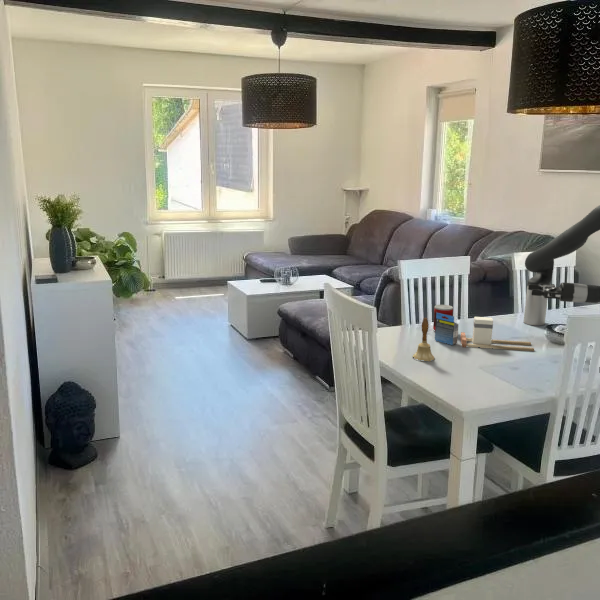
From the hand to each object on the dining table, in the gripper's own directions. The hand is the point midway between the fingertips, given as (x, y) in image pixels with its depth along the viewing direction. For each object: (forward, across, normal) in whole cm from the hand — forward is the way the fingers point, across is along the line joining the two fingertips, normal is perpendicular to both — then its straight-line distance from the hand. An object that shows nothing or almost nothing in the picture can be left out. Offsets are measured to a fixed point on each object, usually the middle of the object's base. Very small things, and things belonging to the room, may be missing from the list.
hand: (529, 289), depth 241 cm
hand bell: (+40, +27, +23) cm, 54 cm away
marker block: (+17, +5, +23) cm, 29 cm away
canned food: (+32, -11, +24) cm, 42 cm away
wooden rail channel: (+10, +5, +23) cm, 26 cm away
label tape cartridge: (+31, +5, +24) cm, 40 cm away
